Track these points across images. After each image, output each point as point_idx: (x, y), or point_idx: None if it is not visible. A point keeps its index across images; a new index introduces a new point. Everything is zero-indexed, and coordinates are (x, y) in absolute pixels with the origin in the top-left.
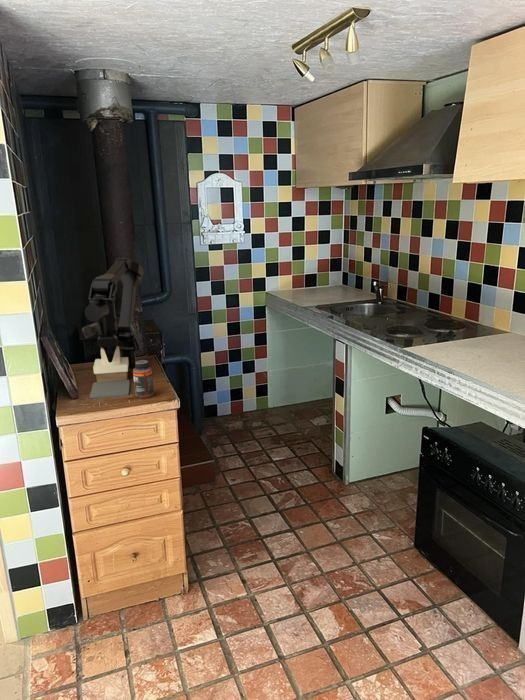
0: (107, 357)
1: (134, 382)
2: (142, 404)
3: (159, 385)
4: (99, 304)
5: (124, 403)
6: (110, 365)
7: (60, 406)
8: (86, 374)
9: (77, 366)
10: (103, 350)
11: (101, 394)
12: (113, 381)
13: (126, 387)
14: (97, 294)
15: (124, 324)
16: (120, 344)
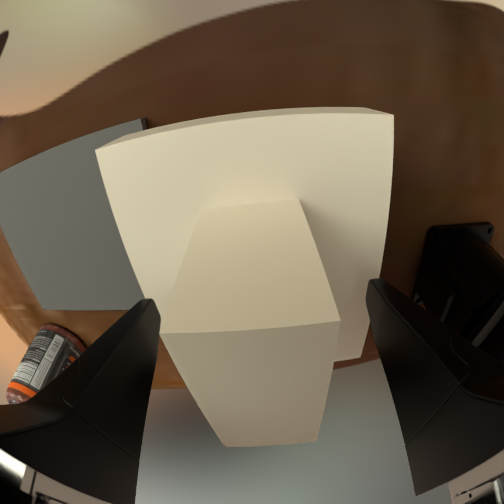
0: (108, 334)
1: (22, 361)
2: (18, 333)
3: (155, 378)
4: None
5: (3, 295)
6: (148, 290)
7: None
8: (369, 32)
9: (497, 14)
10: (179, 352)
11: (8, 221)
12: None
13: (91, 302)
14: None
15: None
16: (489, 355)
